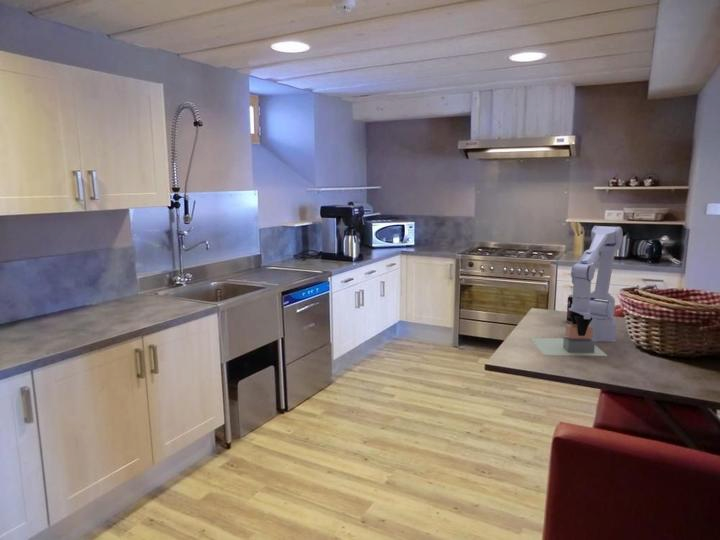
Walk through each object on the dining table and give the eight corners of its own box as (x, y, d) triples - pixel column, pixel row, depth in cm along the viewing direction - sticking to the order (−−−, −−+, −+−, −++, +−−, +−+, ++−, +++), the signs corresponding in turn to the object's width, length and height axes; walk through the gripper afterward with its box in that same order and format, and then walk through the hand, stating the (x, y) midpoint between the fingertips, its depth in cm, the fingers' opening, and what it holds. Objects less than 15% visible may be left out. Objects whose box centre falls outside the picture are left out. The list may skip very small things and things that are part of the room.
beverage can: (578, 325, 217) (580, 298, 215) (563, 322, 222) (565, 296, 220) (585, 322, 221) (587, 295, 219) (571, 319, 226) (572, 293, 224)
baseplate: (587, 339, 198) (587, 338, 197) (607, 356, 178) (607, 355, 178) (529, 339, 200) (529, 338, 200) (543, 355, 180) (543, 354, 180)
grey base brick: (588, 347, 187) (588, 337, 186) (594, 352, 181) (594, 342, 180) (563, 347, 188) (563, 336, 187) (568, 352, 182) (568, 341, 181)
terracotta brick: (588, 334, 185) (588, 324, 185) (592, 338, 181) (593, 327, 180) (565, 334, 186) (566, 324, 185) (569, 338, 182) (569, 327, 181)
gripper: (563, 292, 189) (561, 327, 191) (576, 301, 174) (574, 339, 177) (583, 292, 188) (581, 328, 190) (597, 301, 174) (595, 339, 176)
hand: (579, 333), depth 183 cm, fingers closed on terracotta brick, 4 cm apart
